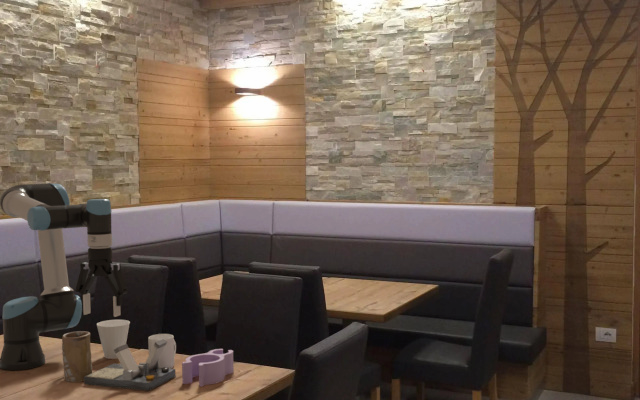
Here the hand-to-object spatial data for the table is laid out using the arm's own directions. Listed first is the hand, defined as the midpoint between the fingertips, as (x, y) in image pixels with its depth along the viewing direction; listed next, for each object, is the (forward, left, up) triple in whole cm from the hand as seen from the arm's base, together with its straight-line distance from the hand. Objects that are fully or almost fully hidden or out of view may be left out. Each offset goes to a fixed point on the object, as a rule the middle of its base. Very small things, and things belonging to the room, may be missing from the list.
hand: (102, 314), depth 238 cm
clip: (+31, +15, -22) cm, 41 cm away
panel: (+8, +4, -22) cm, 23 cm away
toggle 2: (+12, +9, -18) cm, 23 cm away
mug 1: (-12, +1, -22) cm, 25 cm away
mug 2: (+10, +22, -22) cm, 33 cm away
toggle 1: (+12, 0, -18) cm, 22 cm away
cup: (-15, +28, -22) cm, 39 cm away
